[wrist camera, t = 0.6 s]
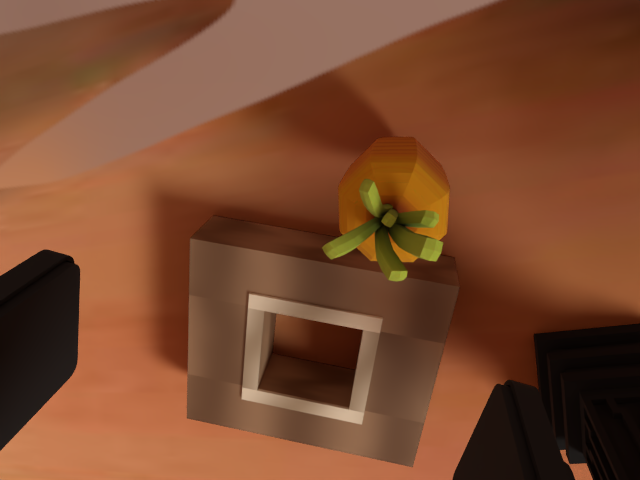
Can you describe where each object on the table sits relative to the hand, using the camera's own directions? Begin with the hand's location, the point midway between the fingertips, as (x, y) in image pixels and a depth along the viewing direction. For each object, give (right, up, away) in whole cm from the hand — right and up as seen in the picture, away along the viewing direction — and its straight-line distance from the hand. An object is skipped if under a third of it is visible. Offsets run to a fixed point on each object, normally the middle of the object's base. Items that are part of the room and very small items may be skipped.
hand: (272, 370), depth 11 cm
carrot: (+6, +8, +20) cm, 22 cm away
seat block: (+1, -3, +25) cm, 25 cm away
